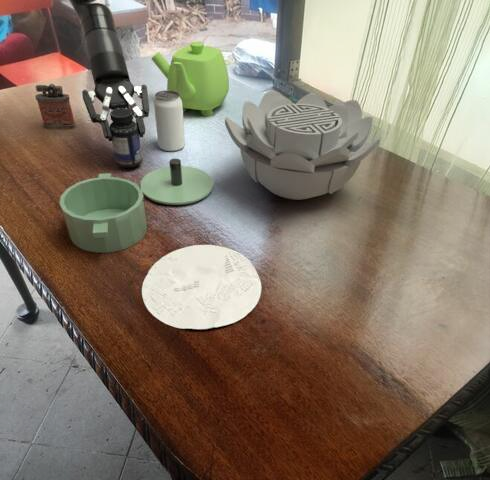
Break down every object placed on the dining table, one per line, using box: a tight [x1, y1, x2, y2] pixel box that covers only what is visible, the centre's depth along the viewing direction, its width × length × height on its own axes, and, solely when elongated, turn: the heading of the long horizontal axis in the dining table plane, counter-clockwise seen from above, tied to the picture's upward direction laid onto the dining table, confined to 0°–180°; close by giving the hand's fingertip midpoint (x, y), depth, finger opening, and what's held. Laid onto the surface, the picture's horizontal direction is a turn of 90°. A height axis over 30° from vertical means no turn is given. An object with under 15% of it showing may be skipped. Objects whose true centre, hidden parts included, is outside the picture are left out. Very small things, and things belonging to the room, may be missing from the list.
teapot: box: [151, 41, 230, 117], centre depth 123 cm, size 25×22×16 cm
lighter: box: [34, 83, 77, 130], centre depth 114 cm, size 8×3×10 cm, turn 94°
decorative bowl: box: [224, 89, 382, 201], centre depth 96 cm, size 30×30×15 cm
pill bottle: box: [109, 108, 143, 168], centre depth 100 cm, size 6×6×11 cm
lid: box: [139, 158, 214, 206], centre depth 96 cm, size 16×16×6 cm
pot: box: [58, 172, 148, 254], centre depth 85 cm, size 15×20×7 cm
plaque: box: [141, 244, 262, 330], centre depth 76 cm, size 20×20×2 cm
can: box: [153, 89, 186, 152], centre depth 107 cm, size 6×6×12 cm
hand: (126, 137), depth 98 cm, fingers closed on pill bottle, 6 cm apart
